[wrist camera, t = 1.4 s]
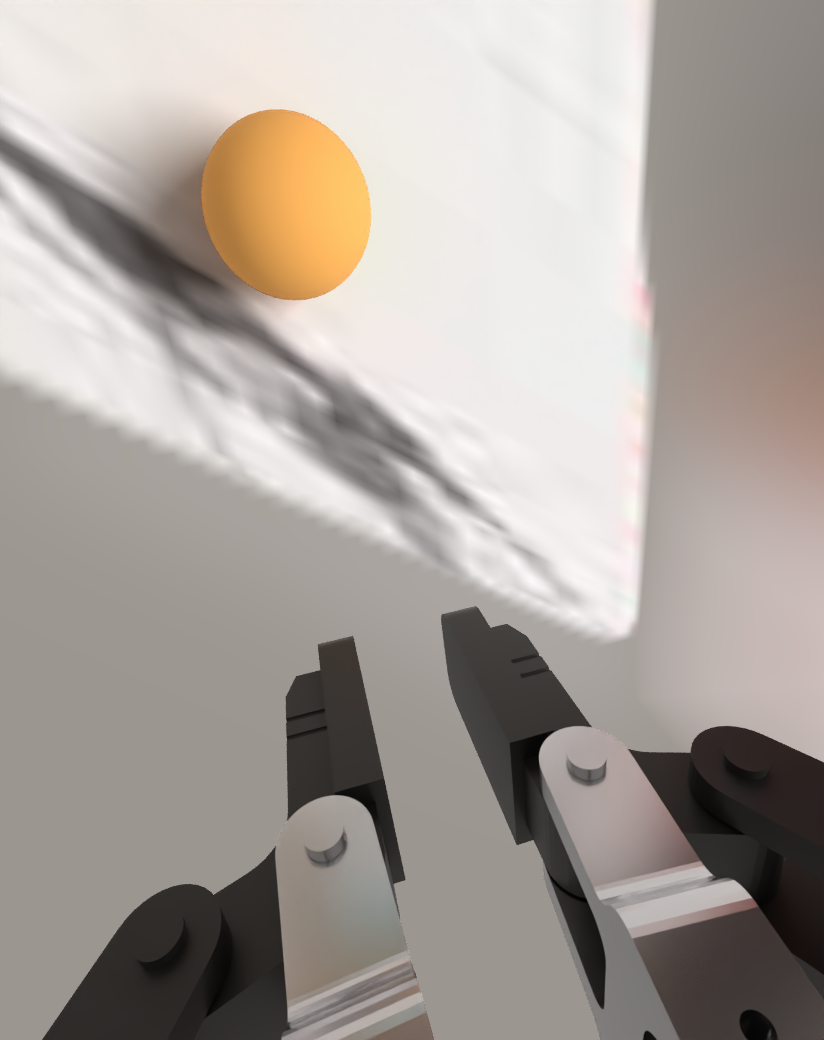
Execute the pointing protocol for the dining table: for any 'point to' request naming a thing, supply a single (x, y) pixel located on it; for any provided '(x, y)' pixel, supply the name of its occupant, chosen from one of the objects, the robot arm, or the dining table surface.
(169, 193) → the dining table surface
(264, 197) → the ball
